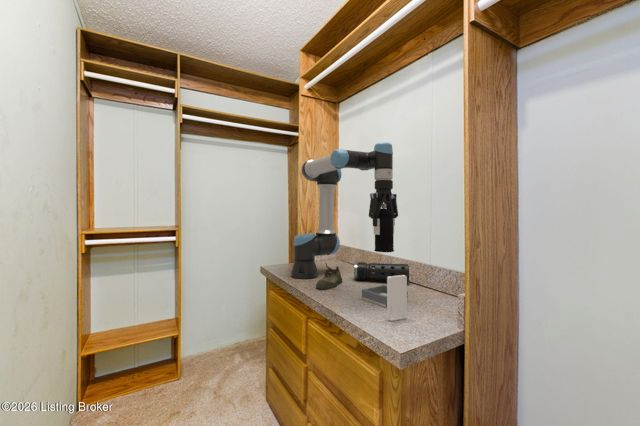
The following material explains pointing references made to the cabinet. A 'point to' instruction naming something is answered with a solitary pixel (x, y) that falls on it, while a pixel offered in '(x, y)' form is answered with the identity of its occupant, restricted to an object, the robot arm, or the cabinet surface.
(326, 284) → the hiking shoe
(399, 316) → the phone case
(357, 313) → the cabinet surface
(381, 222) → the aerosol can
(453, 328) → the cabinet surface
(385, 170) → the robot arm
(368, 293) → the holder
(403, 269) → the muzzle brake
